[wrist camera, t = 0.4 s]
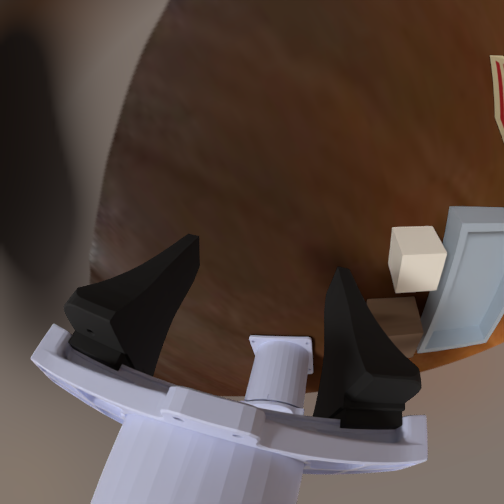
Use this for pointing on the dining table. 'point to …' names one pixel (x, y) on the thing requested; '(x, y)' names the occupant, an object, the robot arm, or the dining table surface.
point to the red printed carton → (498, 90)
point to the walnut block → (399, 321)
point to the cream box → (416, 259)
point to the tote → (467, 281)
